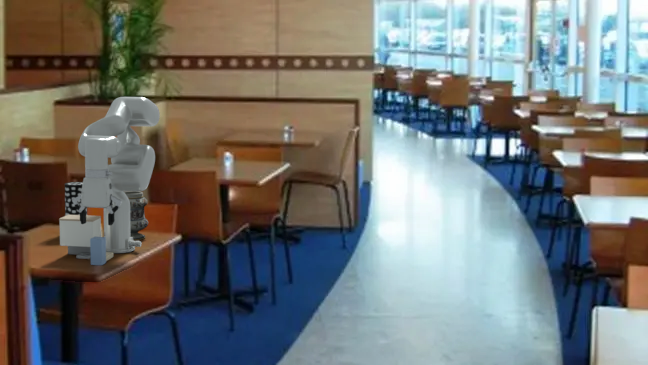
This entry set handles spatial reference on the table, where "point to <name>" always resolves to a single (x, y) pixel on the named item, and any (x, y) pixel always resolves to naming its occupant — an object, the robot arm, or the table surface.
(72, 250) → the cabinet
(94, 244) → the light blue block
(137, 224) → the apothecary jar
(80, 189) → the spotted tube
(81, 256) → the block
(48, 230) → the table surface
